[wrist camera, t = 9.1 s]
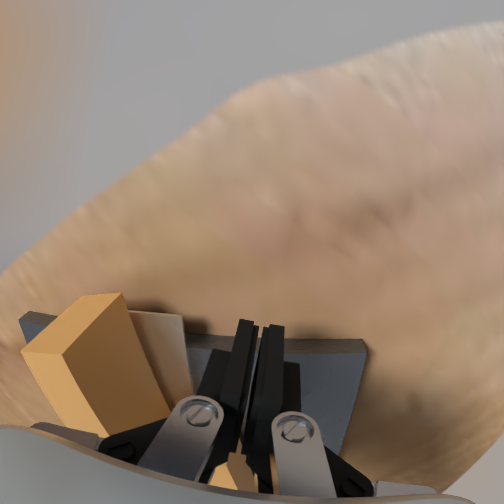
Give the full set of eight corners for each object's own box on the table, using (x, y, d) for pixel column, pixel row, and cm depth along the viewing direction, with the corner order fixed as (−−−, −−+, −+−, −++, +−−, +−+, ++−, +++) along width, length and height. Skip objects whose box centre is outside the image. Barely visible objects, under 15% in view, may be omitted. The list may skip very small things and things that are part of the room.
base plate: (313, 507, 21) (313, 588, 13) (109, 478, 23) (79, 544, 15) (367, 307, 14) (430, 468, 6) (21, 285, 16) (-76, 359, 7)
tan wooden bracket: (191, 283, 13) (145, 357, 8) (260, 494, 18) (253, 549, 13) (41, 297, 14) (-19, 345, 9) (150, 484, 19) (133, 531, 15)
